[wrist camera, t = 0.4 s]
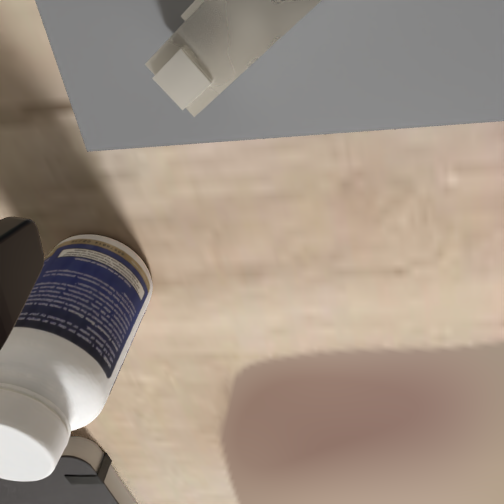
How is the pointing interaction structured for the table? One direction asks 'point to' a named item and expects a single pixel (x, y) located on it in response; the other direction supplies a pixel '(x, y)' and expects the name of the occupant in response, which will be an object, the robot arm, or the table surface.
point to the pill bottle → (67, 349)
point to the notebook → (72, 480)
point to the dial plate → (284, 71)
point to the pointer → (220, 46)
